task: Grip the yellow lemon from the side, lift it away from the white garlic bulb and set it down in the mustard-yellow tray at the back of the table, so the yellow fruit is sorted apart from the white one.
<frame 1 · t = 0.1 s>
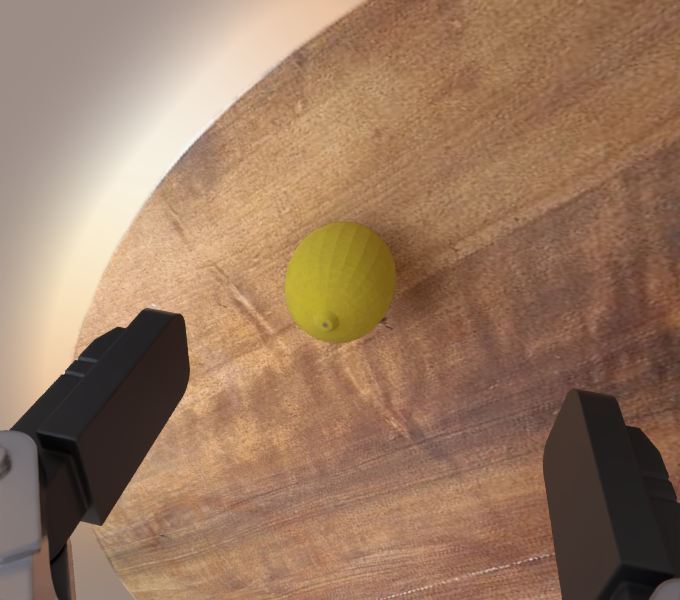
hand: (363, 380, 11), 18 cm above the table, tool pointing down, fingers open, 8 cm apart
lemon: (354, 242, 31), on the table
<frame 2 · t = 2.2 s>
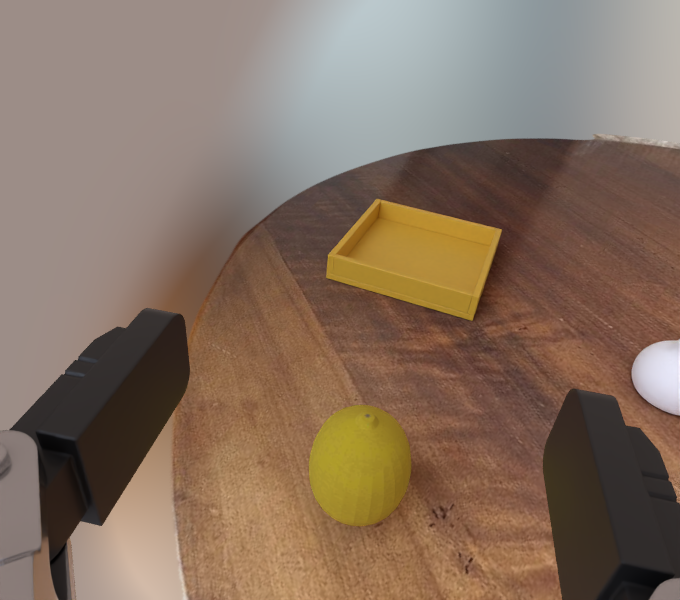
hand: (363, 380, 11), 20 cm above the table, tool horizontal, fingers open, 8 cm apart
yellow tray: (416, 263, 55), on the table
lemon: (352, 510, 32), on the table
garlic bulb: (667, 395, 42), on the table
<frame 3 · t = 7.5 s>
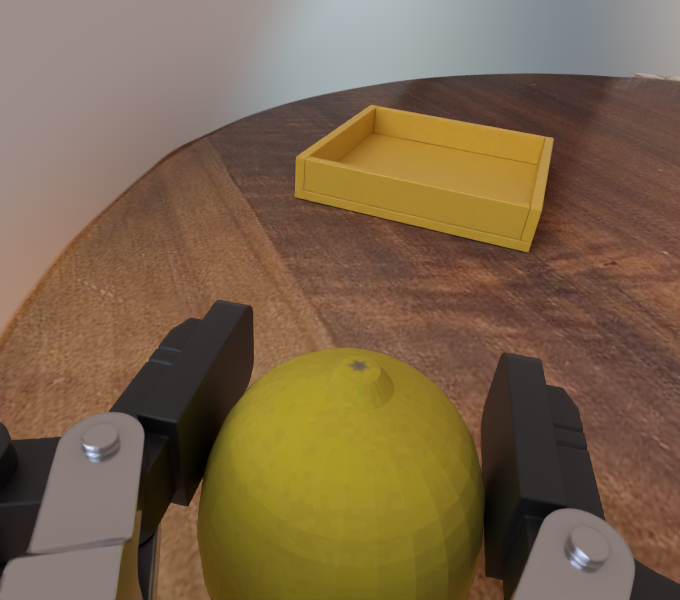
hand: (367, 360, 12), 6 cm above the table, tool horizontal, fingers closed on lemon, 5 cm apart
yellow tray: (431, 183, 37), on the table
when the fingers open (7 cm above the table, at t = 17.1 s): lemon stays where it is, resting on yellow tray.
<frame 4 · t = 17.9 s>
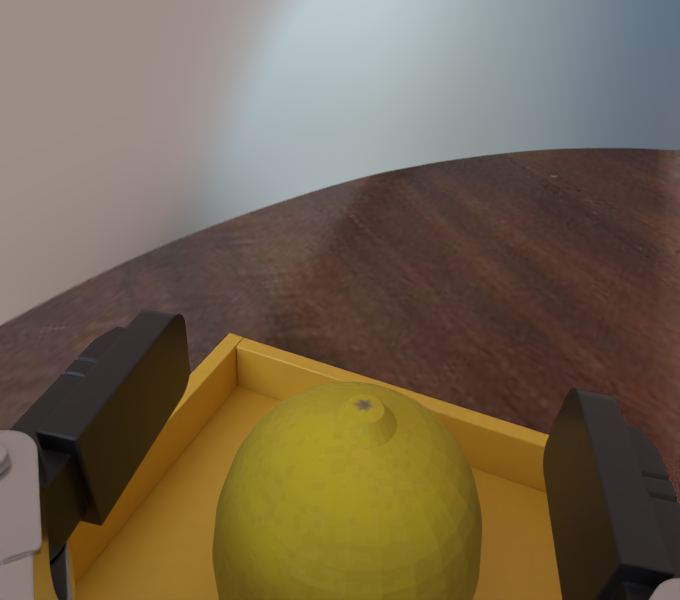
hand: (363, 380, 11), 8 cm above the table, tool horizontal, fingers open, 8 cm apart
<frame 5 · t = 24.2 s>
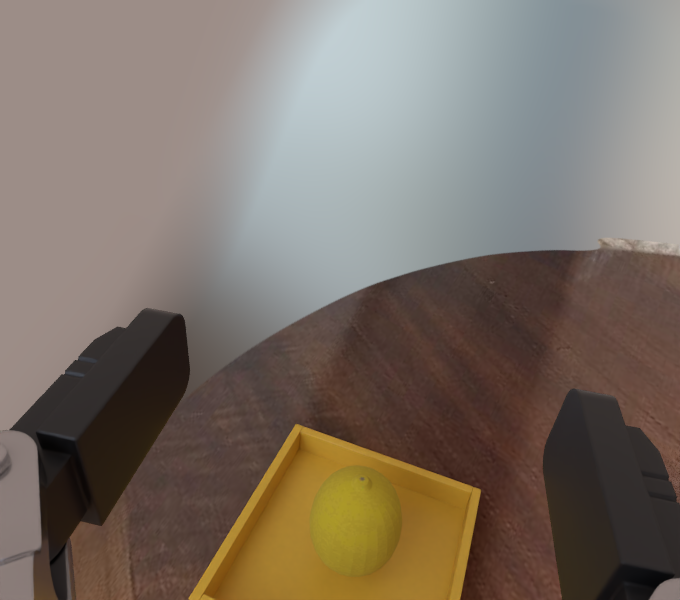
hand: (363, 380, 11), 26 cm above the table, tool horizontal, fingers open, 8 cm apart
yellow tray: (347, 560, 35), on the table
lemon: (349, 559, 35), resting on yellow tray
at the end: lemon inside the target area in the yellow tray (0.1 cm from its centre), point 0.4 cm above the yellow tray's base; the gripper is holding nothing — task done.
